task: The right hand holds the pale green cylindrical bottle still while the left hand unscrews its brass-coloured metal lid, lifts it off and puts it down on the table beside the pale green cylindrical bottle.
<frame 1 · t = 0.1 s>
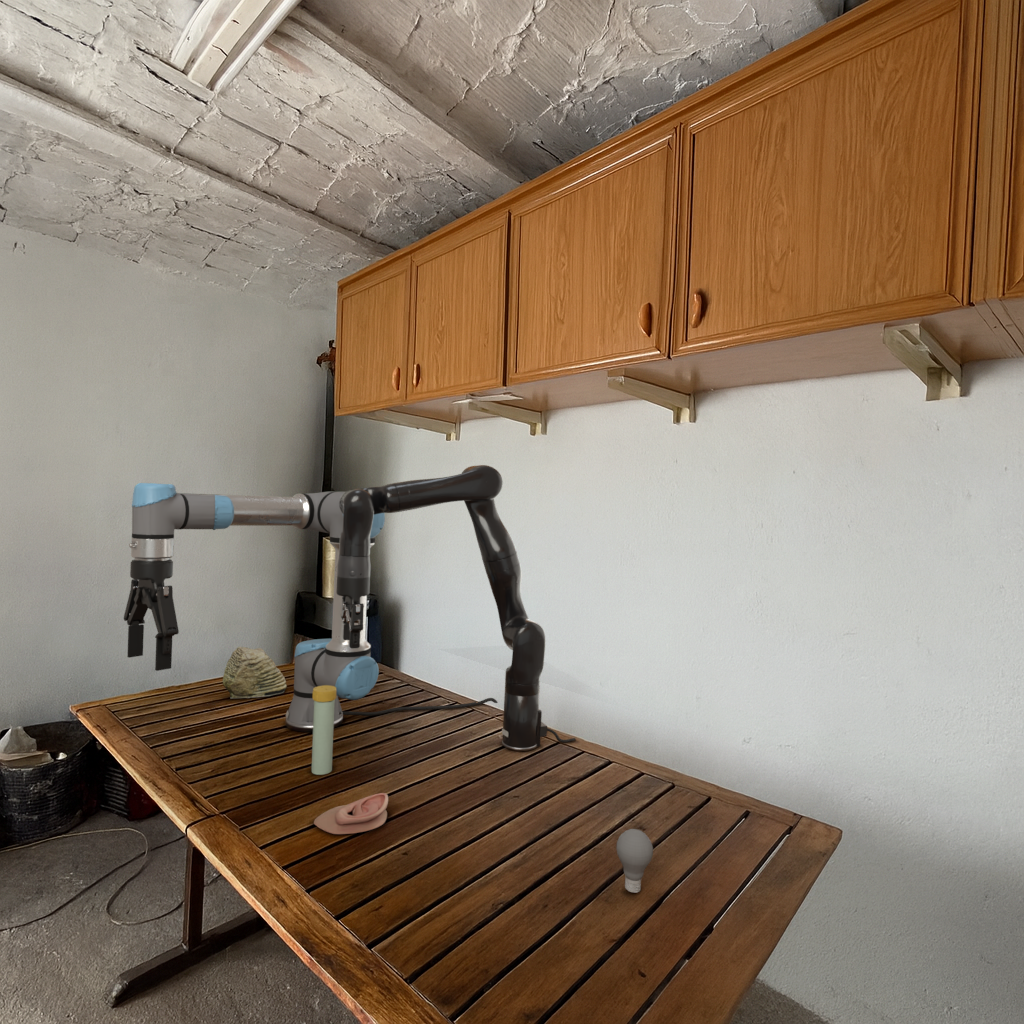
left hand: (148, 662, 129), 28 cm above the table, tool pointing down, fingers open, 13 cm apart
right hand: (351, 643, 148), 29 cm above the table, tool pointing down, fingers open, 8 cm apart
anatomical model: (351, 821, 124), on the table
lid: (324, 690, 146), point 19 cm above the table, screwed on, not yet turned
pale green cylindrical bottle: (321, 770, 146), on the table
light bulb: (632, 891, 106), on the table
fossil: (254, 694, 198), on the table
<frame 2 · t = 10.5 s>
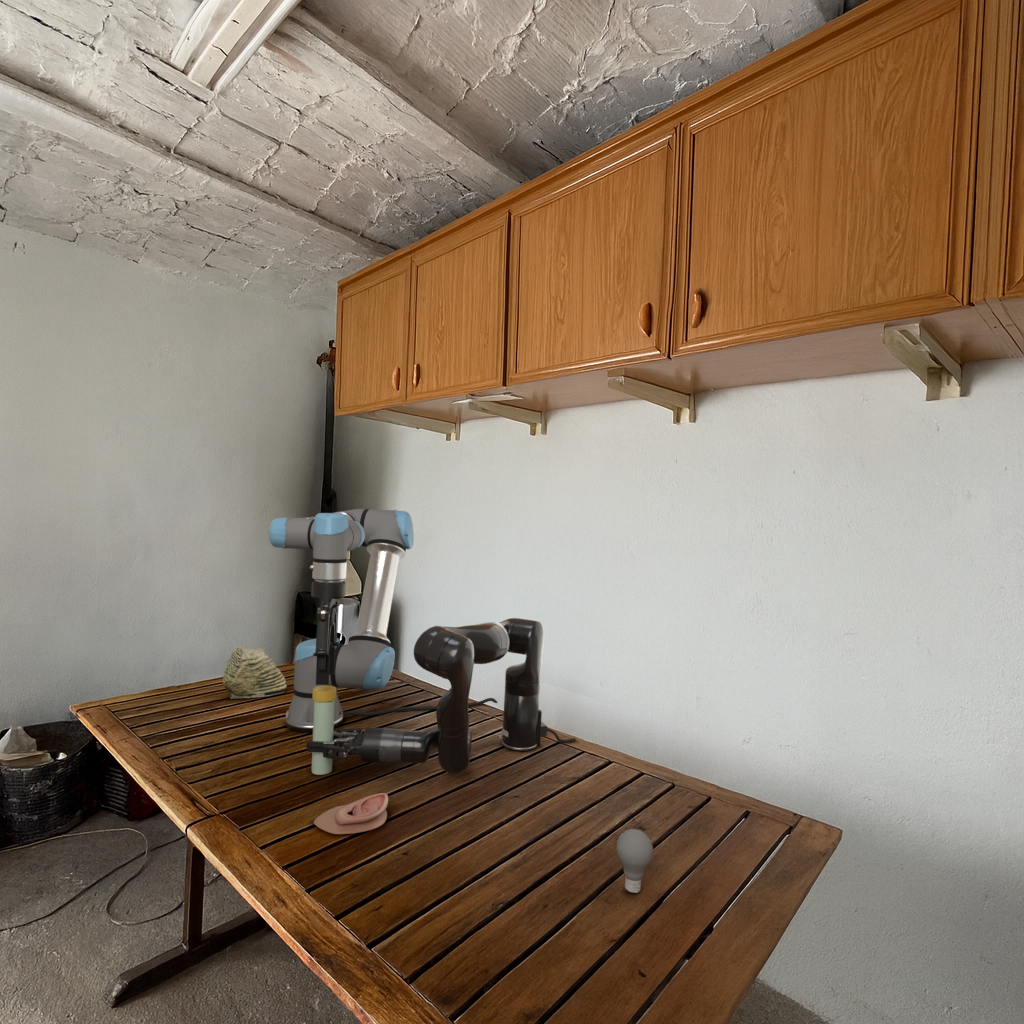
left hand: (325, 679, 146), 21 cm above the table, tool pointing down, fingers open, 7 cm apart
right hand: (311, 741, 146), 7 cm above the table, tool horizontal, fingers closed on pale green cylindrical bottle, 4 cm apart
pale green cylindrical bottle: (321, 770, 146), on the table, touching right hand
everything else where it was.
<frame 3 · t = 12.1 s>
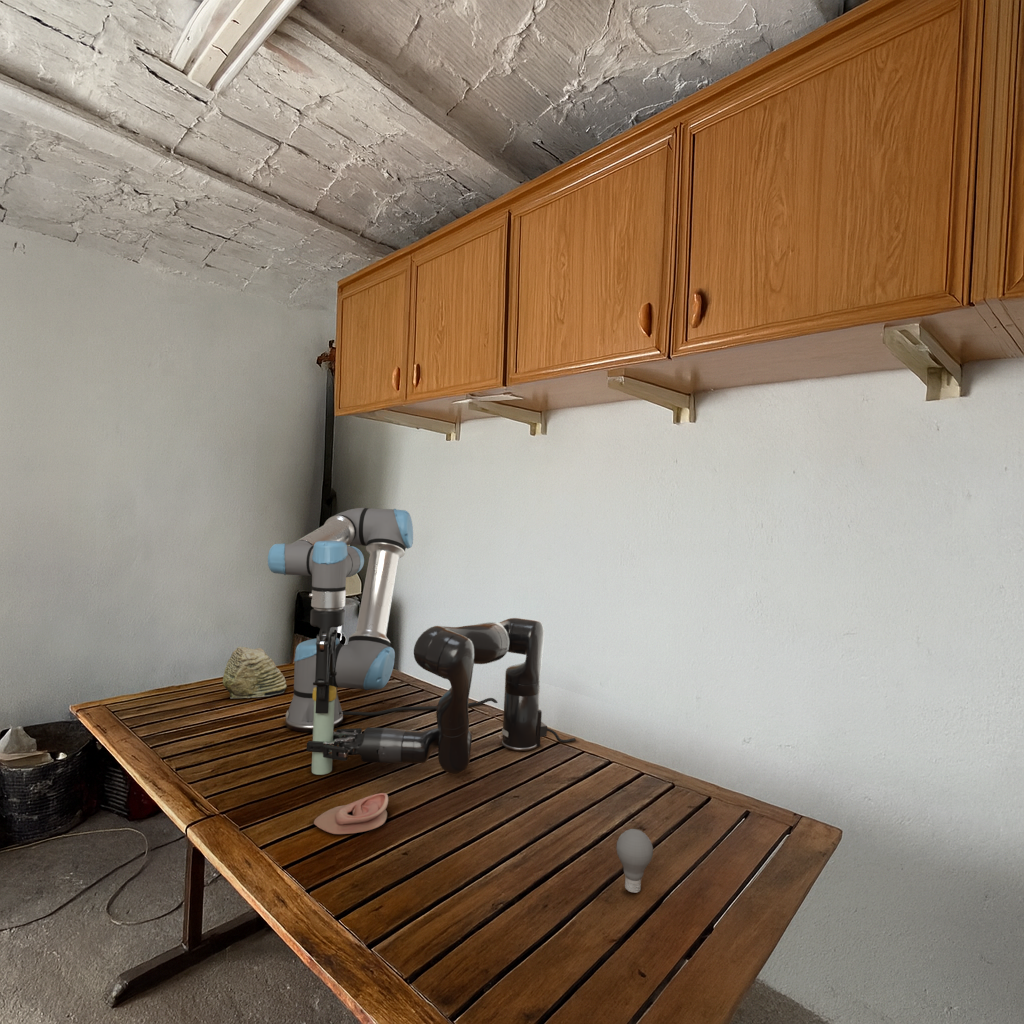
left hand: (324, 708, 146), 15 cm above the table, tool pointing down, fingers closed on lid, 5 cm apart
right hand: (311, 741, 146), 7 cm above the table, tool horizontal, fingers closed on pale green cylindrical bottle, 4 cm apart
lid: (324, 690, 146), point 19 cm above the table, screwed on, not yet turned, touching left hand
pale green cylindrical bottle: (321, 770, 146), on the table, touching right hand
everything else where it was.
when the left hand's fingers open (15 cm above the table, at t = 13.3 s): lid stays where it is, point 19 cm above the table.
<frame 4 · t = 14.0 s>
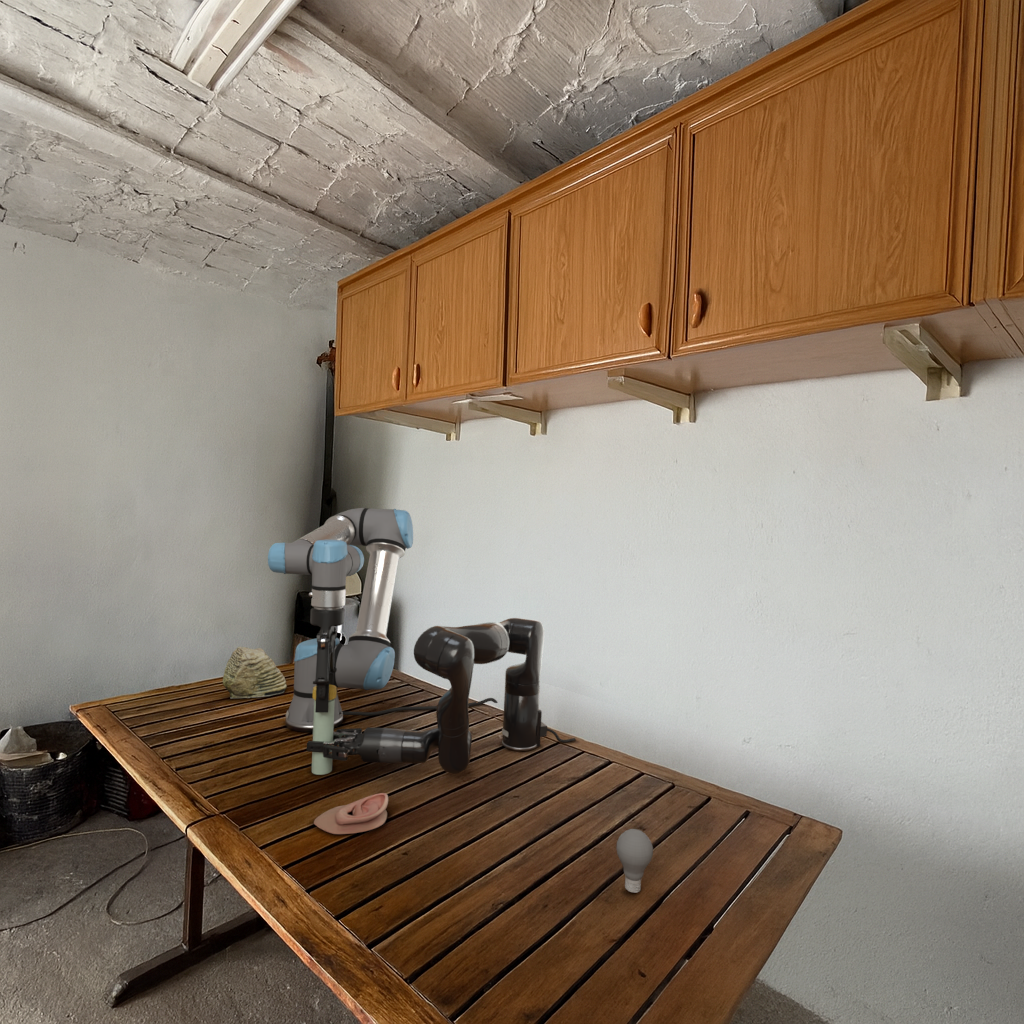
left hand: (324, 705, 146), 15 cm above the table, tool pointing down, fingers open, 7 cm apart
right hand: (311, 741, 146), 7 cm above the table, tool horizontal, fingers closed on pale green cylindrical bottle, 4 cm apart
lid: (324, 689, 146), point 19 cm above the table, turned 72° so far, risen 0.2 cm, still on its thread
pale green cylindrical bottle: (321, 770, 146), on the table, touching right hand
everything else where it was.
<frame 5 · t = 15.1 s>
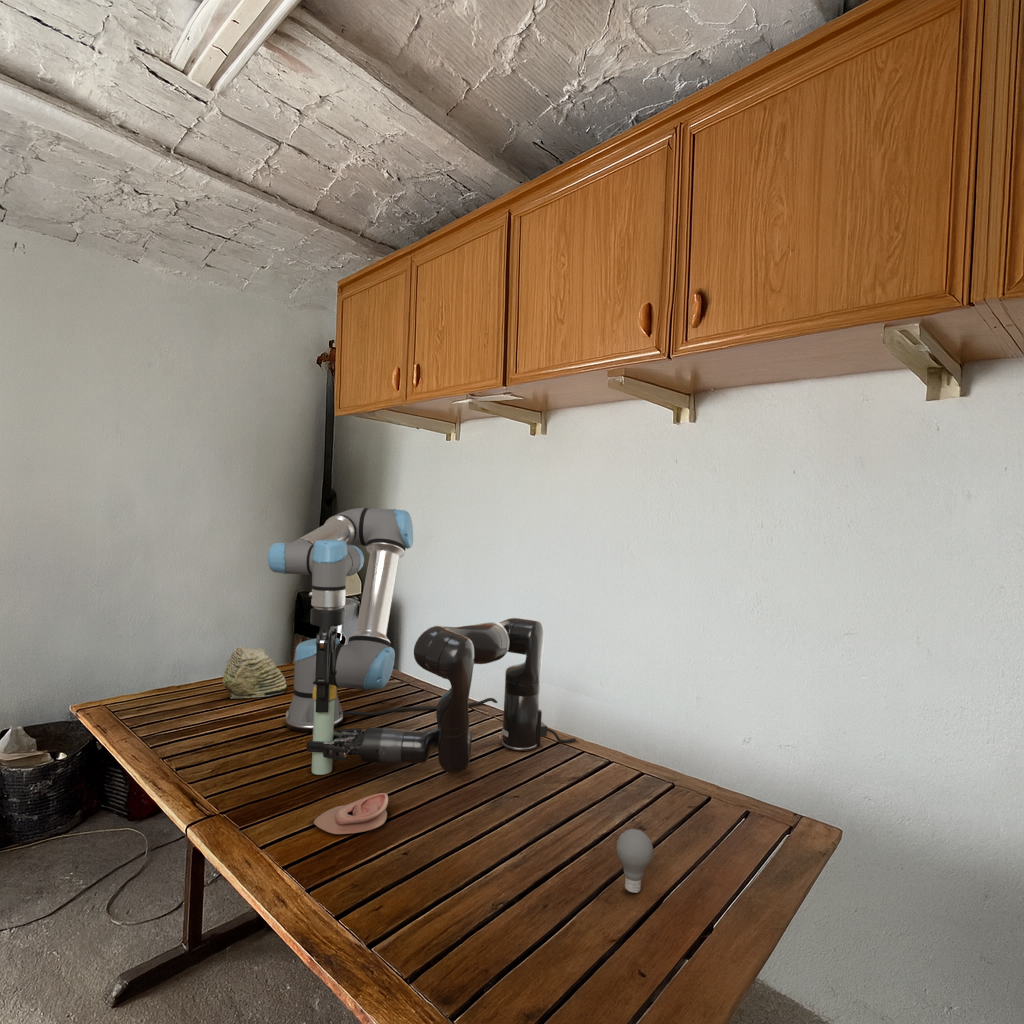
left hand: (324, 707, 146), 15 cm above the table, tool pointing down, fingers closed on lid, 5 cm apart
right hand: (311, 741, 146), 7 cm above the table, tool horizontal, fingers closed on pale green cylindrical bottle, 4 cm apart
lid: (324, 689, 146), point 19 cm above the table, turned 72° so far, risen 0.2 cm, still on its thread, touching left hand
pale green cylindrical bottle: (321, 770, 146), on the table, touching right hand
everything else where it was.
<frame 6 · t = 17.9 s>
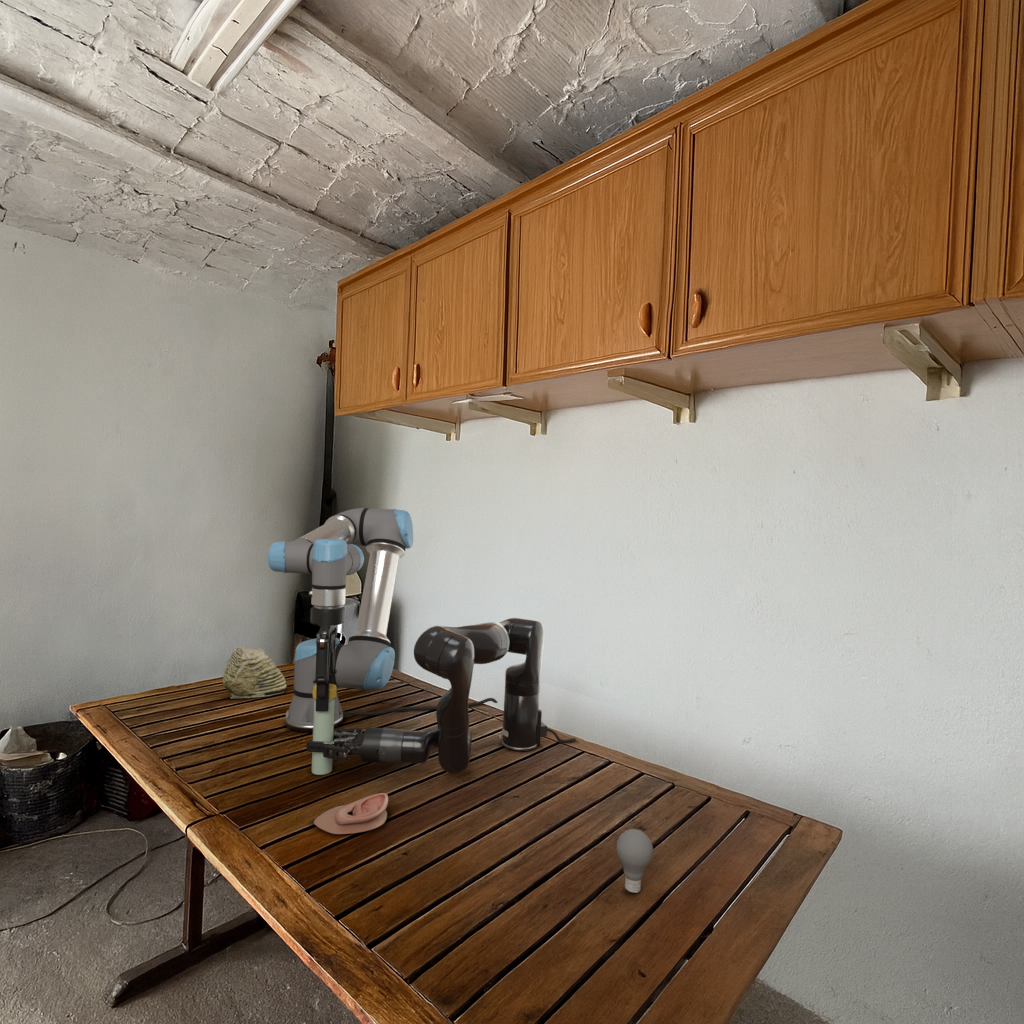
left hand: (324, 706, 146), 15 cm above the table, tool pointing down, fingers closed on lid, 5 cm apart
right hand: (311, 741, 146), 7 cm above the table, tool horizontal, fingers closed on pale green cylindrical bottle, 4 cm apart
lid: (324, 688, 146), point 19 cm above the table, turned 143° so far, risen 0.5 cm, still on its thread, touching left hand
pale green cylindrical bottle: (321, 770, 146), on the table, touching right hand
everything else where it was.
when the left hand's fingers open (0 cm above the table, at t = 24.7 s): lid drops 2 cm, point 2 cm above the table.
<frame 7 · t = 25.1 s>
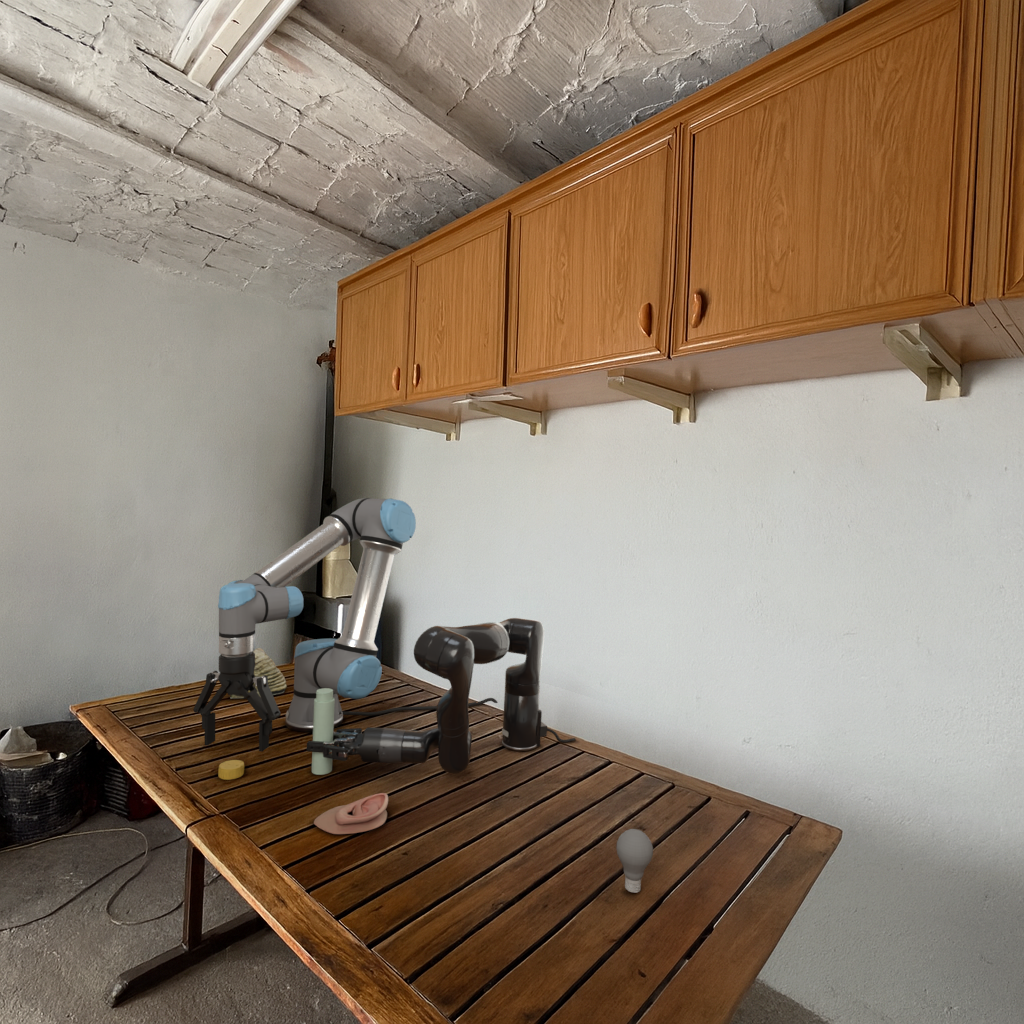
left hand: (236, 746, 143), 6 cm above the table, tool pointing down, fingers open, 13 cm apart
right hand: (311, 741, 146), 7 cm above the table, tool horizontal, fingers closed on pale green cylindrical bottle, 4 cm apart
lid: (231, 766, 142), point 2 cm above the table, off its thread
pale green cylindrical bottle: (321, 770, 146), on the table, touching right hand
everything else where it was.
when the right hand's fingers open (7 cm above the table, at t = 25.4 s): pale green cylindrical bottle stays where it is, on the table.
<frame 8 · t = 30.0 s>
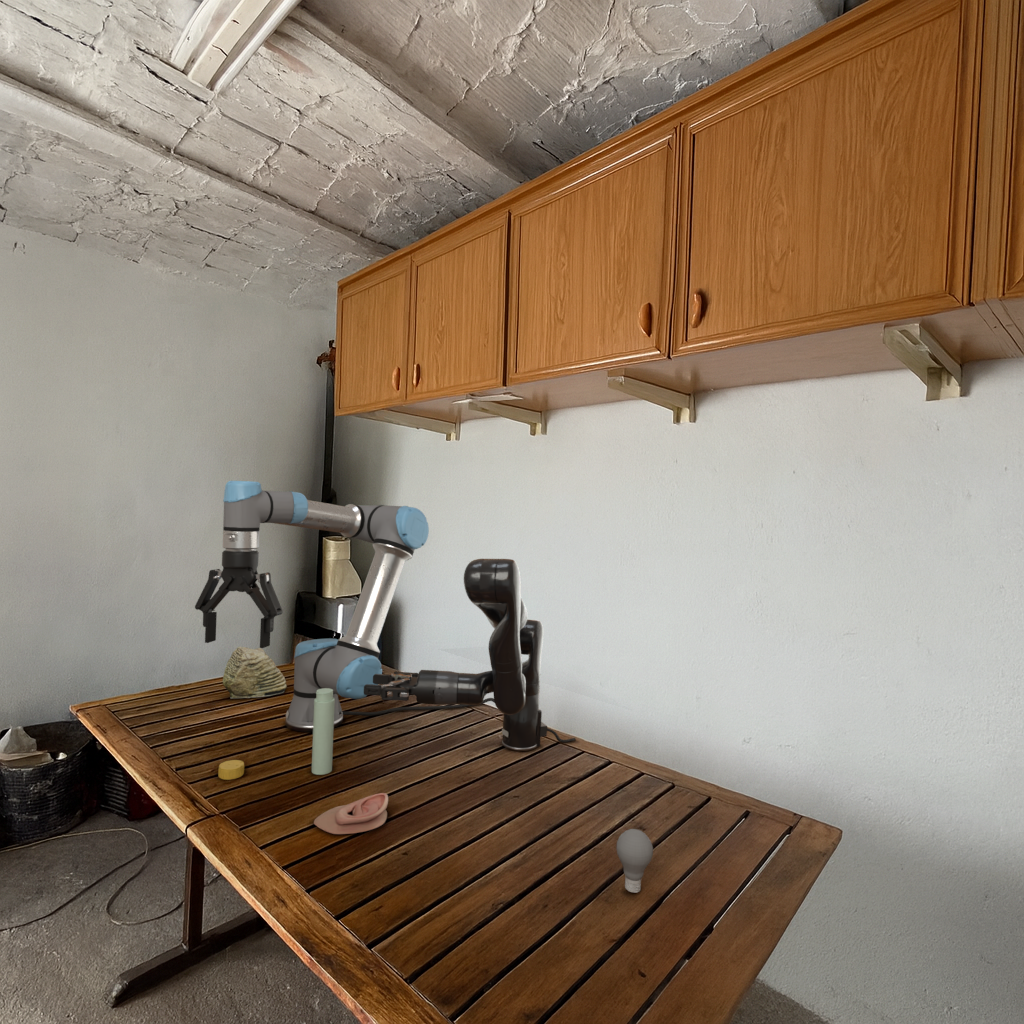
left hand: (237, 644, 142), 29 cm above the table, tool pointing down, fingers open, 13 cm apart
right hand: (368, 684, 146), 21 cm above the table, tool horizontal, fingers open, 8 cm apart
pale green cylindrical bottle: (321, 770, 146), on the table
everything else where it was.
at the end: lid came off its thread; lid point 1.9 cm above the table; the left hand is holding nothing; the right hand is holding nothing; pale green cylindrical bottle tilted 0°; pale green cylindrical bottle moved 0.0 cm from its start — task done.
